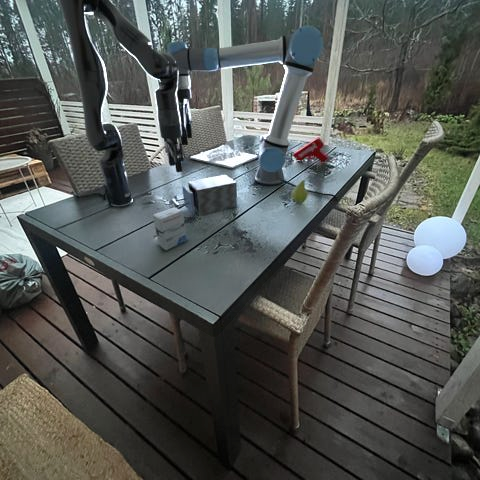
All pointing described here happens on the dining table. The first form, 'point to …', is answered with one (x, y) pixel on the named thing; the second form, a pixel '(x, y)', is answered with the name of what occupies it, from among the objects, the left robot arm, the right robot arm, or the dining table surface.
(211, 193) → the white box dark end
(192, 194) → the drawer
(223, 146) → the relief map
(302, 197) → the fruit
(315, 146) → the toy gun
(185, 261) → the dining table surface
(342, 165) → the dining table surface
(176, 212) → the ink box
